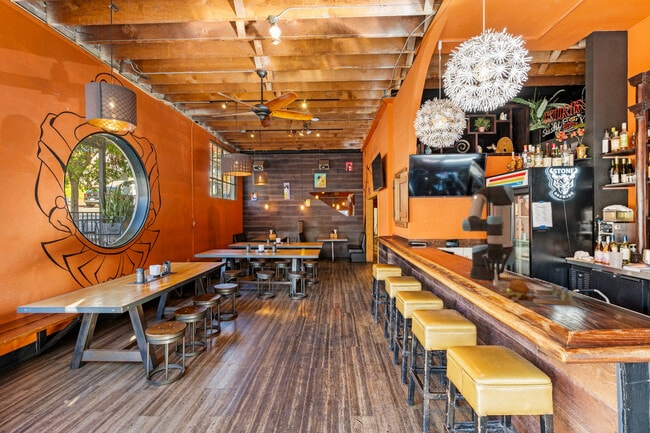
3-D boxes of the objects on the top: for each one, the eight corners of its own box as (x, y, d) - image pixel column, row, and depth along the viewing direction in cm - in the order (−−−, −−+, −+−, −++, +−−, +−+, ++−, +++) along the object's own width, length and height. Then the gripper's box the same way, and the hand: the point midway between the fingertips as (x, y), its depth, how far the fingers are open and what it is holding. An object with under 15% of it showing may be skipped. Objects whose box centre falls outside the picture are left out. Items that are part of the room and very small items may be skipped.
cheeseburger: (521, 293, 172) (523, 277, 169) (532, 303, 161) (534, 286, 159) (502, 293, 173) (504, 277, 170) (512, 303, 162) (514, 286, 160)
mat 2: (519, 302, 156) (519, 302, 156) (534, 303, 154) (534, 302, 154) (523, 305, 150) (523, 305, 150) (539, 306, 148) (539, 306, 148)
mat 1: (518, 289, 181) (518, 289, 181) (531, 290, 179) (531, 290, 179) (521, 292, 175) (521, 292, 175) (535, 292, 173) (535, 292, 173)
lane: (500, 291, 177) (500, 283, 177) (553, 293, 170) (553, 285, 170) (512, 301, 157) (512, 292, 157) (572, 304, 150) (572, 294, 150)
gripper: (483, 243, 167) (484, 286, 167) (510, 243, 163) (511, 287, 163) (480, 242, 174) (481, 283, 174) (506, 242, 170) (506, 284, 170)
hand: (495, 285), depth 168 cm, fingers closed
